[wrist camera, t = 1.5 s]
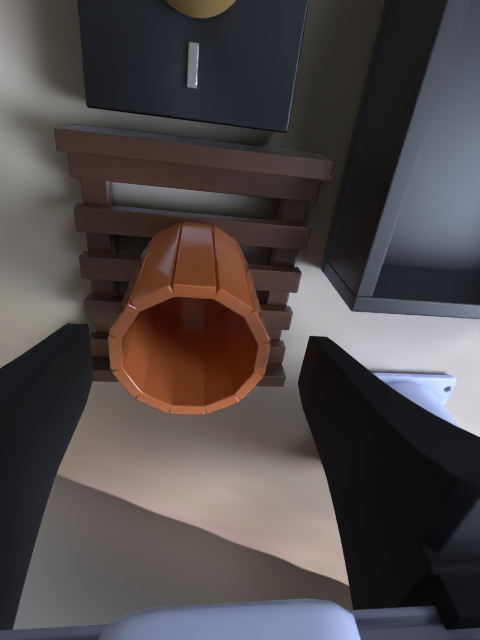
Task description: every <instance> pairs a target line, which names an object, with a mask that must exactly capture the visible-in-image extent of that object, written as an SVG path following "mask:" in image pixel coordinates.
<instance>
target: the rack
mask: <svg viewBox="0 0 480 640" xmlns="http://www.w3.org/2000/svg"><path fill="white" fill-rule="evenodd" d="M54 131H55V139H56V147H57V150H58V151H64V152H68V161H69V170H70V176H71V177H72V178H79V179H81V186H82V197H83V203H80V202H79V203H77V204H76V205H75V206H74V216H75V224H76V231H77V232H86V237H87V247H88V251H83V252H82V254H81V255H80V256H79V261H80V270H81V278H82V279H91V288H92V294H88V295H87V297H86V298H85V300H84V304H85V313H86V319H87V320H95V329H96V332H91V334H90V345H91V355H92V364H93V374H94V376H93V380H92V381H106V382H119V381H118V379H117V378H116V377H115V376H114V374H113V373H112V370H113V369H110V359H109V347H108V336H109V332H110V329H111V327H112V324H113V322H114V319H115V317H116V314H117V312H118V309H119V307H120V304H121V302H122V300H123V297H124V296H119V295H118V281H126V282H130V280H131V277H132V275H133V273H134V270H135V268H136V265H137V263H138V260H139V258H140V256H141V255H128V254H116V243H115V235H124V236H136V237H148V238H152V237H153V236H155V234H156V233H158V232H161V231H163V230H165V229H167V228H169V227H171V226H173V225H175V224H178V223H181V224H183V222H191V223H202V224H211V225H212V227H213V226H216V227H217V228H219V229H220V230H222V231H223V232H224V233H226V234H227V235H229V236H230V237H232V238H233V239H235V240H236V242H237V243H238V244H239V245H245V246H257V247H269V248H272V254H271V260H270V265H259V264H248V266H249V269H250V273H251V276H252V280H253V283H254V287H255V290H262V291H265V296H264V302H263V305H260V308H261V311H262V315H263V318H264V322H265V325H266V329H267V332H268V336H269V339H270V350H269V355H268V360H267V366H266V371H265V374H264V375H263V378H262V379H261V380H260V381H259V382H258V383H257V384H256V386H274V387H283V386H284V382H285V378H286V376H285V373H284V369H283V366H282V362H283V357H284V352H285V345H284V342H283V341H280V336H281V331H282V330H289V328H290V324H291V319H292V314H293V312H292V310H291V308H290V307H289V306H287V302H288V297H289V292H292V293H297V292H298V287H299V283H300V278H301V271H300V270H299V268H298V267H295V262H296V257H297V253H298V250H307V245H308V241H309V236H310V232H311V227H310V226H309V225H308V224H305V223H304V218H305V213H306V208H307V203H308V202H317V199H318V194H319V189H320V185H321V180H326V181H330V180H331V176H332V172H333V168H334V163H335V161H333V160H330V159H328V158H326V157H323V156H321V155H319V154H316V153H311V152H302V151H294V150H286V149H278V148H269V147H261V146H253V145H244V144H236V143H228V142H220V141H211V140H203V139H195V138H187V137H178V136H170V135H162V134H154V133H145V132H137V131H129V130H120V129H112V128H104V127H96V126H87V125H79V124H77V125H71V126H65V127H58V128H55V129H54ZM112 182H118V183H128V184H138V185H148V186H158V187H168V188H177V189H187V190H197V191H207V192H217V193H227V194H236V195H246V196H256V197H266V198H276V199H281V200H280V206H279V212H278V218H277V221H273V220H262V219H251V218H241V217H230V216H219V215H208V214H198V213H187V212H176V211H166V210H155V209H144V208H133V207H123V206H113V192H112Z"/></svg>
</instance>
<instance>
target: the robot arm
mask: <svg viewBox="0 0 480 640" xmlns="http://www.w3.org/2000/svg"><path fill="white" fill-rule="evenodd" d="M93 376H94V374H93V364H92V355H91V345H90V336H89V326H88V324H71V323H68V324H66V325H64V326H63V327H61V328H60V329H58V330H57V331H55V332H54V333H53V334H51V335H50V336H48V337H47V338H45V339H44V340H43V341H41V342H40V343H38V344H37V345H35V346H34V347H32V348H31V349H29V350H28V351H27V352H25V353H24V354H22V355H21V356H19V357H18V358H16V359H14V360H13V361H11V362H9V363H8V364H6V365H5V366H3V367H1V368H0V640H480V437H478V436H476V435H474V434H472V433H470V432H468V431H465V430H463V429H461V428H460V427H459V426H458V425H457V424H456V422H455V421H454V420H453V419H452V417H451V416H450V415H449V414H448V412H447V411H446V410H445V409H444V405H445V403H446V401H447V399H448V398H449V396H450V394H451V392H452V390H453V388H454V386H455V384H456V379H455V378H454V377H453V376H451V375H427V374H399V373H372V372H370V371H369V370H368V369H366V368H365V367H364V366H363V365H361V364H360V363H359V362H358V361H357V360H355V359H354V358H353V357H352V356H350V355H349V354H348V353H347V352H346V351H344V350H343V349H342V348H341V347H340V346H338V345H337V344H336V343H335V342H333V341H332V340H331V339H329V338H328V337H320V336H309V340H308V344H307V348H306V352H305V356H304V360H303V364H302V367H301V371H300V375H299V379H298V387H299V393H300V398H301V403H302V407H303V411H304V414H305V417H306V419H307V422H308V425H309V428H310V431H311V434H312V436H313V439H314V442H315V445H316V448H317V450H318V453H319V456H320V459H321V463H322V465H323V468H324V471H325V474H326V477H327V481H328V485H329V489H330V493H331V498H332V502H333V506H334V510H335V515H336V520H337V524H338V529H339V534H340V538H341V543H342V549H343V554H344V559H345V564H346V570H347V575H348V581H349V587H350V593H351V599H352V604H353V610H349V611H347V610H345V609H344V608H342V607H341V606H339V605H337V604H335V603H334V602H332V601H325V600H314V599H292V600H273V601H254V602H234V603H216V604H196V605H177V606H162V607H156V608H151V609H145V610H139V611H133V612H131V613H129V614H127V615H125V616H123V617H121V618H119V619H117V620H115V621H113V622H111V623H110V624H107V625H90V626H89V625H88V626H73V627H72V626H71V627H54V628H37V629H20V630H13V626H14V622H15V618H16V614H17V610H18V606H19V602H20V597H21V594H22V590H23V586H24V582H25V579H26V575H27V571H28V567H29V563H30V560H31V556H32V552H33V548H34V545H35V542H36V538H37V535H38V531H39V528H40V525H41V521H42V517H43V514H44V511H45V508H46V504H47V501H48V498H49V495H50V492H51V488H52V485H53V481H54V479H55V476H56V474H57V471H58V468H59V466H60V463H61V461H62V459H63V456H64V454H65V452H66V449H67V447H68V445H69V443H70V440H71V438H72V436H73V433H74V431H75V429H76V426H77V424H78V422H79V419H80V417H81V415H82V412H83V410H84V407H85V405H86V402H87V399H88V395H89V392H90V388H91V384H92V380H93ZM445 387H446V388H445Z"/></svg>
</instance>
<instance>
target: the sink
mask: <svg viewBox="0 0 480 640" xmlns="http://www.w3.org/2000/svg"><path fill="white" fill-rule="evenodd" d="M321 270H322V272H323V273H324V274H325V275H326V277H327V278H328V280H329V281H330V282H331V284H332V285H333V286H334V288H335V289H336V291H337V292H338V293H339V295H340V296H341V298H342V299H343V300H344V302H345V303H346V304H347V306H348V307H349V309H350V310H351V311H356V312H373V313H389V314H406V315H422V316H439V317H455V318H472V319H480V0H385V5H384V9H383V13H382V17H381V21H380V25H379V29H378V33H377V38H376V42H375V46H374V50H373V54H372V58H371V62H370V66H369V70H368V75H367V79H366V83H365V87H364V91H363V95H362V99H361V103H360V108H359V112H358V116H357V120H356V124H355V128H354V132H353V136H352V141H351V145H350V149H349V153H348V157H347V161H346V165H345V169H344V173H343V178H342V182H341V186H340V190H339V194H338V198H337V202H336V206H335V211H334V215H333V219H332V223H331V227H330V231H329V235H328V239H327V244H326V248H325V252H324V256H323V260H322V264H321Z"/></svg>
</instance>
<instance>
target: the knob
mask: <svg viewBox="0 0 480 640" xmlns="http://www.w3.org/2000/svg"><path fill="white" fill-rule="evenodd" d="M165 1H166V2H167V3H168V4H169V5H170V6H171V7H173V8H174V9H175V10H177V11H178V12H180V13H182V14H184V15H186V16H189V17H193V18H209V17H213V16H216V15H218V14H221V13H222V12H224V11H225V10H227V9H228V8H229V7H230V6H231V5H232V4H233V3H234V2H235V1H236V0H165Z"/></svg>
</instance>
